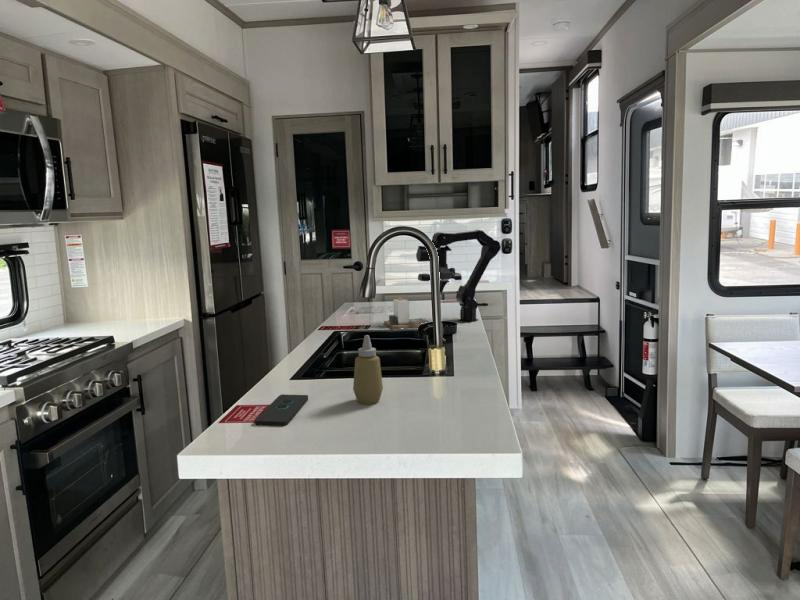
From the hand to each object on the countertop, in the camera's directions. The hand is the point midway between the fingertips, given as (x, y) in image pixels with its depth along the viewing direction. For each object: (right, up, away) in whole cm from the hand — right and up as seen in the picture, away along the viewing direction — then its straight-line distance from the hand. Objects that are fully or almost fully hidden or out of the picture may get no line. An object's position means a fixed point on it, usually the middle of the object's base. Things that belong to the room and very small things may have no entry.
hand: (439, 296), depth 258 cm
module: (-17, -11, -4) cm, 21 cm away
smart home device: (-47, -31, -109) cm, 123 cm away
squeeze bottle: (-26, -29, -103) cm, 110 cm away
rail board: (-14, -13, -3) cm, 19 cm away
